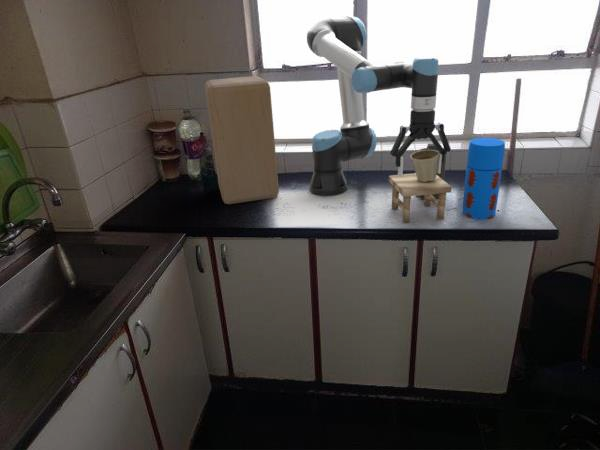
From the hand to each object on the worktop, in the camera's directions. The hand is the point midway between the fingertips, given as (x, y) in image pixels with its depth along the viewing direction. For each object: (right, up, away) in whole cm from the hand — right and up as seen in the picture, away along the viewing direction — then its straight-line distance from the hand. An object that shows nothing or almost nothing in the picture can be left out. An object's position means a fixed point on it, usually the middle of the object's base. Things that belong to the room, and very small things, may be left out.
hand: (419, 174), depth 148 cm
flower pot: (+3, -2, +1) cm, 4 cm away
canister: (+9, -6, +20) cm, 23 cm away
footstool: (+1, -13, +6) cm, 14 cm away
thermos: (+21, -13, +3) cm, 25 cm away
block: (-62, -4, +34) cm, 71 cm away
